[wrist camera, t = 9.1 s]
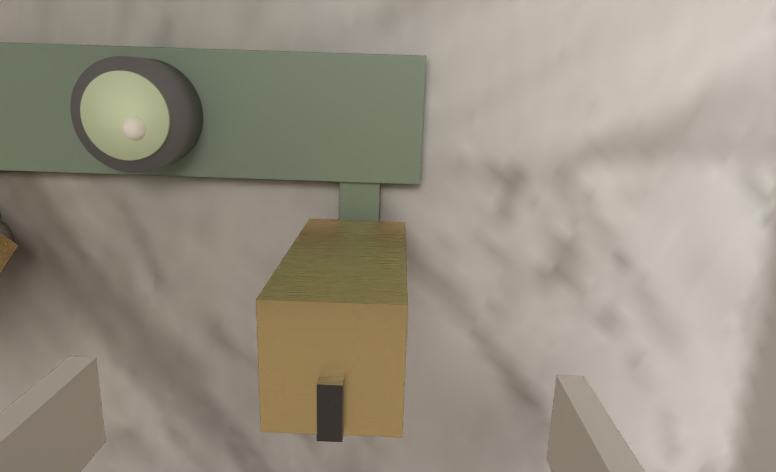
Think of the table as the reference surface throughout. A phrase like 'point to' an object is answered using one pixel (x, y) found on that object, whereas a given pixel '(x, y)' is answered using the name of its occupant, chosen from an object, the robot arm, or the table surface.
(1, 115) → the base plate
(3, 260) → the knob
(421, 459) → the table surface
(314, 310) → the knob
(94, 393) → the robot arm
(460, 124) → the table surface
